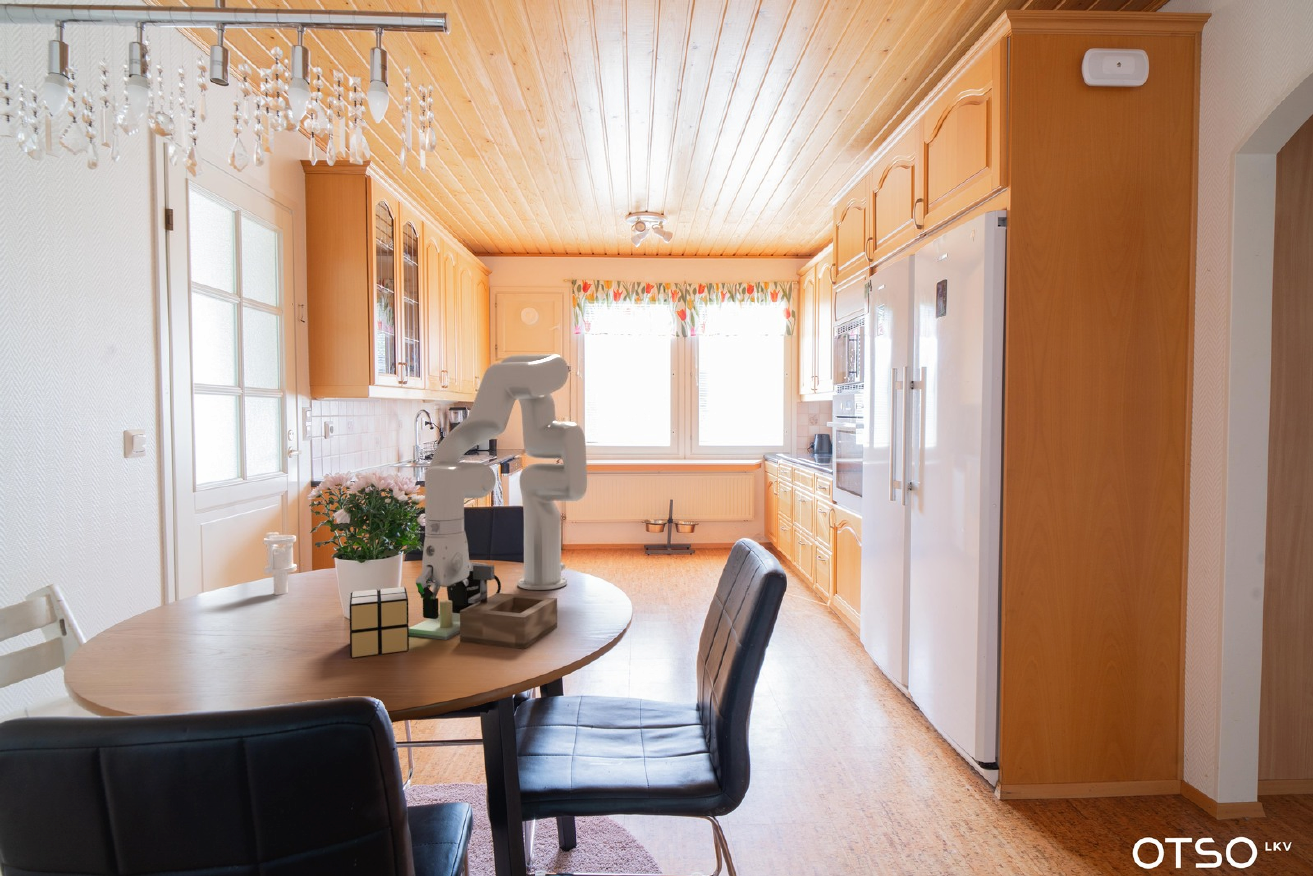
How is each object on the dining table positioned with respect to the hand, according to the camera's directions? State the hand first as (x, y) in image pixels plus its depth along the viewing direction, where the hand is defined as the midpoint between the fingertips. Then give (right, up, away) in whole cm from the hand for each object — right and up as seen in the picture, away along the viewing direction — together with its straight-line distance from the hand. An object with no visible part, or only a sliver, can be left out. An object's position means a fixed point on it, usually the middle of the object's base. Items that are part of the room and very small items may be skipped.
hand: (445, 611), depth 136 cm
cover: (-1, -4, +3) cm, 5 cm away
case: (+13, -4, -1) cm, 14 cm away
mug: (+2, -4, +15) cm, 16 cm away
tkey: (+7, +2, -1) cm, 7 cm away
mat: (-1, -4, +3) cm, 5 cm away
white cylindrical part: (-50, -3, +30) cm, 59 cm away
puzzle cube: (-10, -5, -8) cm, 14 cm away
